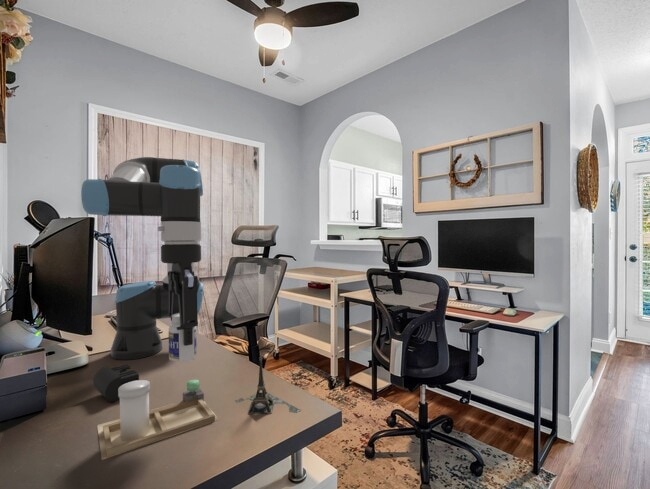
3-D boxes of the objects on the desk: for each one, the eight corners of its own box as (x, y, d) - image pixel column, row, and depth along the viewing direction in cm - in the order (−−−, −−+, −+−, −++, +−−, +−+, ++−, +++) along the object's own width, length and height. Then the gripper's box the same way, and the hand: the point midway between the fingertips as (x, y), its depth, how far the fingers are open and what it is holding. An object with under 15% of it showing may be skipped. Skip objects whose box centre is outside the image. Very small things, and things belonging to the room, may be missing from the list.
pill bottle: (163, 361, 66) (162, 316, 66) (179, 352, 71) (178, 311, 71) (186, 362, 65) (185, 317, 65) (201, 353, 70) (201, 311, 70)
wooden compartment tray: (97, 430, 66) (96, 415, 66) (199, 400, 78) (199, 387, 78) (101, 466, 56) (101, 448, 56) (219, 425, 68) (219, 409, 68)
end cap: (93, 396, 81) (92, 369, 80) (125, 386, 86) (125, 360, 86) (105, 410, 74) (105, 380, 74) (140, 399, 79) (139, 371, 79)
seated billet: (117, 432, 64) (116, 384, 63) (148, 422, 67) (147, 377, 67) (120, 445, 59) (119, 395, 59) (153, 435, 63) (152, 387, 62)
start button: (185, 396, 76) (185, 381, 76) (197, 393, 77) (197, 378, 77) (188, 401, 74) (188, 385, 74) (200, 397, 75) (200, 382, 75)
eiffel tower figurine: (302, 412, 74) (302, 353, 73) (265, 432, 66) (265, 366, 66) (261, 391, 84) (261, 339, 84) (225, 406, 76) (225, 349, 76)
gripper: (152, 242, 73) (154, 348, 73) (172, 244, 58) (174, 375, 59) (188, 242, 77) (189, 341, 78) (215, 243, 63) (216, 365, 63)
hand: (182, 355), depth 68 cm, fingers closed on pill bottle, 5 cm apart
